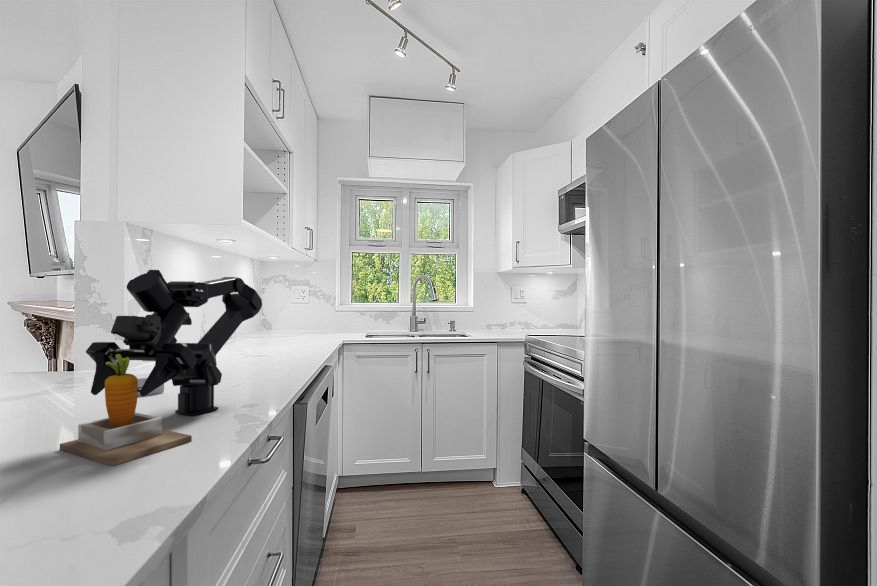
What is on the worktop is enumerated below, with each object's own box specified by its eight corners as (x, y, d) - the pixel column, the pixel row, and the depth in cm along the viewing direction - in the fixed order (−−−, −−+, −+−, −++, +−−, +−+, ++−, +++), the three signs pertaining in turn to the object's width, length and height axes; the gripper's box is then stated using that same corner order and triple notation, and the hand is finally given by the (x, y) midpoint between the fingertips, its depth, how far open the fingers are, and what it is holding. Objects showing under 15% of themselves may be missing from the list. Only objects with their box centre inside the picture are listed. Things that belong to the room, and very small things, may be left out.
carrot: (134, 439, 76) (133, 355, 76) (100, 444, 74) (99, 357, 74) (141, 431, 81) (141, 352, 81) (109, 435, 79) (108, 353, 79)
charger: (161, 384, 130) (163, 393, 118) (123, 388, 125) (122, 398, 112) (161, 368, 130) (164, 376, 118) (123, 371, 125) (122, 380, 112)
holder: (139, 428, 86) (140, 408, 86) (191, 441, 79) (191, 419, 79) (59, 449, 74) (60, 426, 74) (112, 466, 67) (112, 440, 67)
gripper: (94, 299, 83) (36, 367, 72) (187, 300, 81) (143, 368, 70) (127, 336, 90) (79, 402, 79) (212, 337, 89) (175, 404, 78)
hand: (117, 394), depth 77 cm, fingers open, 9 cm apart
